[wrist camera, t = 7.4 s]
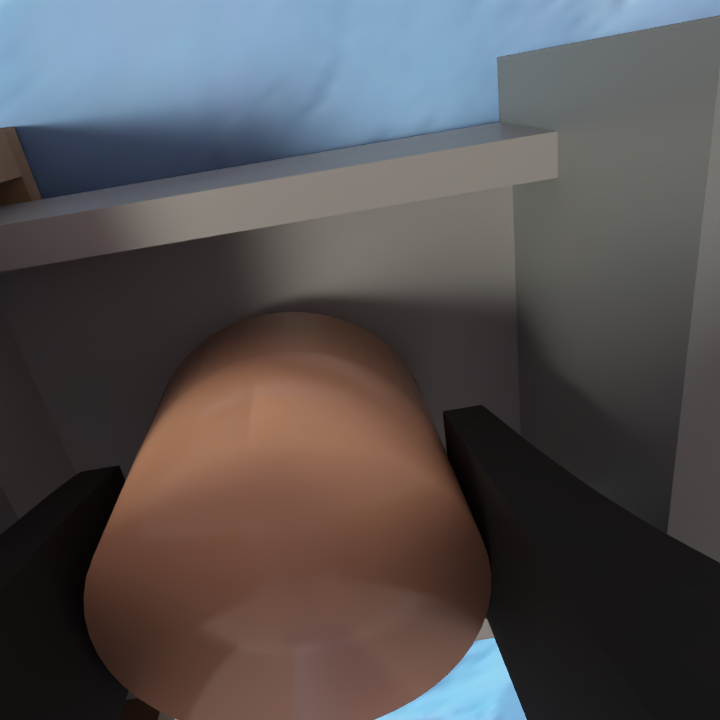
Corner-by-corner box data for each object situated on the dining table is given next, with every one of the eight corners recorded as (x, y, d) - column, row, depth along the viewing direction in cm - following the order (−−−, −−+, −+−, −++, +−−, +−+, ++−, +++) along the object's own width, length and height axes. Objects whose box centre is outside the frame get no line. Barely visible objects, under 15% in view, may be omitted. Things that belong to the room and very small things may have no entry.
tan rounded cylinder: (423, 525, 12) (479, 714, 8) (182, 549, 12) (132, 758, 8) (428, 302, 10) (507, 426, 6) (131, 321, 9) (30, 467, 6)
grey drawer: (544, 49, 9) (833, -5, 4) (548, 561, 14) (681, 827, 9) (-85, 155, 9) (-585, 236, 4) (138, 630, 14) (39, 937, 9)
